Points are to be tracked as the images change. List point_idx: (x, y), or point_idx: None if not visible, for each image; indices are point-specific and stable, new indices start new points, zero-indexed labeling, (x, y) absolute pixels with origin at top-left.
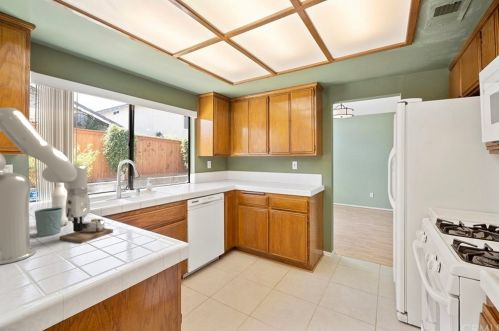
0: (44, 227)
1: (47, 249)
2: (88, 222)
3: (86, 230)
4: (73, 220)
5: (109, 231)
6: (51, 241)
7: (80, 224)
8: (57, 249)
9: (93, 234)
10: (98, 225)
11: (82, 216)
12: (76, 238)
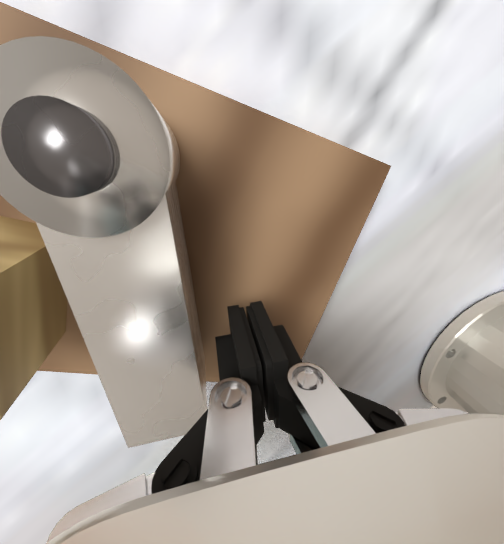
0: None
1: (427, 297)
2: (148, 342)
3: (192, 288)
4: (407, 415)
5: (65, 32)
6: None
7: (277, 345)
8: (445, 242)
9: (244, 158)
10: (169, 133)
11: (246, 467)
12: (346, 238)
